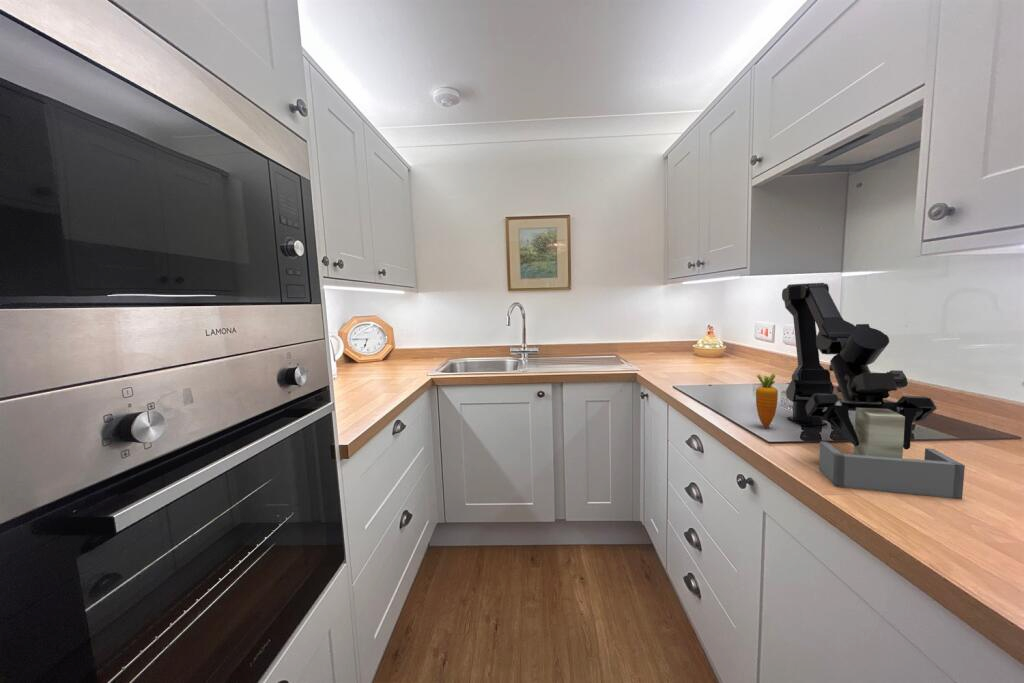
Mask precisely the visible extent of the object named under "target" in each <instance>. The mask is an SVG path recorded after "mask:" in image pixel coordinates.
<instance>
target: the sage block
mask: <svg viewBox="0 0 1024 683" xmlns="http://www.w3.org/2000/svg"><path fill="white" fill-rule="evenodd" d="M854 420H855V422H854V430H855V432H856V434H857V437H858V441H859V445H858V446H854V445H853V455H864V456H878V457H891V458H903V457H904V456H903V454H904V448H903V442H904V426H905V417H904V416H902V415H900V414H898V413H896V412H894V411H892V410H890V409H879V408H856V411H855V418H854Z"/></svg>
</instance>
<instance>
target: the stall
mask: <svg viewBox="0 0 1024 683" xmlns="http://www.w3.org/2000/svg"><path fill="white" fill-rule="evenodd" d="M818 458H819V459H818V460H819V462H818V470H819V472H821V473H822V474H823V475H824V476H825V477H826V479H827V480H829V481H830V483H832V484H833V485H834V487H837V488H838V487H839V488H848V489H858V490H859V489H860V490H867V491H880V492H888V493H898V494H908V495H916V496H917V495H918V496H928V497H939V498H948V499H960V500H962V499H963V492H964V480H965V469H966V465H965V464H963V463H961V462H959V461H958V460H955V459H954V458H951V457H950V456H948V455H946V454H945V453H942V452H940V451H939V450H937V449H935V448H925V449H924V459H916V458H891V457H878V456H864V455H854V454H848V453H842V452H840V451H839V449H837V448H836V447H835V446H833V445H832V444H831V443H829V442H828V441H819V456H818Z"/></svg>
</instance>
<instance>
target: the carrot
mask: <svg viewBox="0 0 1024 683" xmlns="http://www.w3.org/2000/svg"><path fill="white" fill-rule="evenodd" d="M756 377H757V379H758V380H759V382H760V384H761V386H758V387H757V388H756V390H755V404H756V405H755V406H756V410H757V415H758V417H759V420H760V423H761V425H762V426H763V427H764V428H765V429H767V428H769V427H770V426H771V423H773V421H774V418H775V414H776V411H777V408H778V397H779V396H778V395H779V393H778V389H777V388H776V387H774V386H772V385H774V384H775V383H776V381H775V378H776V374H775V373H772V374H771V375H770V376H767V375H764V376H763V377H762V376H761V375H760V374H757V375H756Z"/></svg>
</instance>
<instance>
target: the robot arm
mask: <svg viewBox="0 0 1024 683" xmlns="http://www.w3.org/2000/svg"><path fill="white" fill-rule="evenodd" d="M781 299H782V301H783V302H784V308H785V309H786V310H787V311H788V313H790V314H791V315H792V318H793V327H794V328H793V329H794V339H795V346H796V347H795V348H796V358H797V367H796V368H795V370H794V371H793V373H792V375H791V381H790V382H789V384H788V386H787V388H786V389H785V393H786V395H785V396H786V398H787V399H788V400H789V401H791V402H792V403H793V404H792V408H793V410H792V416H787V417H786V418H787V420H790V421H792V422H794V423H796V424H798V425H800V426H802V427H808V426H828V424H830V425H831V426H832V427H833V428H834V429H836V430H837V431H838V432H840V434H841V435H843V436H844V437H845V438H846V439H847V440H848V441H849V442H850V443H851V444H853V447H854V446H858V445H859V441H858V437H857V434H856V432H855V426H854V425H853V423H852V420H851V419H850V416H849V411H850V412H851V411H852V412H856V408H879V409H890V410H892V411H894V412H896V413H898V414H900V415H902V416H904V417H905V426H904V442H903V450H909V449H910V448H911V441H912V440H911V437H912V425H913V423H914V422H915V423H918V422H922V421H924V420H925V419H926V418H927V417H929V416H930V415H931V414H932V413H934V411H936V410H937V406H936V403H935V402H934V399H931V397H927V396H923V395H922V396H920V395H919V396H918V395H902V396H901V397H900V398H899V399H898V400H897V401H896V402H890V401H889V402H887V401H884V399H888V398H889V396H890V394H889V392H892V391H898V389H902V388H905V387H907V386H908V382H909V381H908V379H907V376H906V374H905V373H904V371H903V370H892V369H891V370H890V371H886V372H871V369H870V368H869V365H871V364H873V363H875V362H876V360H877V359H878V358H879V357H880V355H881V354H882V352H884V350H886V347H888V345H889V343H890V338H889V336H888V335H887V334H885V333H884V332H883V331H881V330H878V329H876V328H873V327H871V326H870V324H869V323H856V324H855V325H854V323H851V322H848V321H847V320H845V319H844V318H843V317H842V315H841V313H840V311H839V309H838V307H837V305H836V303H835V302H834V300H833V298H832V295H831V294H830V287H829V284H828V283H824V282H817V283H816V282H812V283H794V284H793V283H791V284H787V286H786V287H785V288H783V289H782V292H781ZM817 330H818V332H817ZM820 353H821V354H822V355H833V357H832V358H831V359H830V361H829V362H830V364H829V366H828V369H826V368H824V367H823V365H822V364H821V361H820V360H821V359H820ZM831 372H833V373H834V374H833V375H834V377H835V379H836V382H837V384H838V385H837V387H836V391H837V393H841V395H842V398H843V400H842V399H840V398H839V397H838V395H837V394H835V393H834V388H835V387H834V384H833V382H832V380H831Z"/></svg>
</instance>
